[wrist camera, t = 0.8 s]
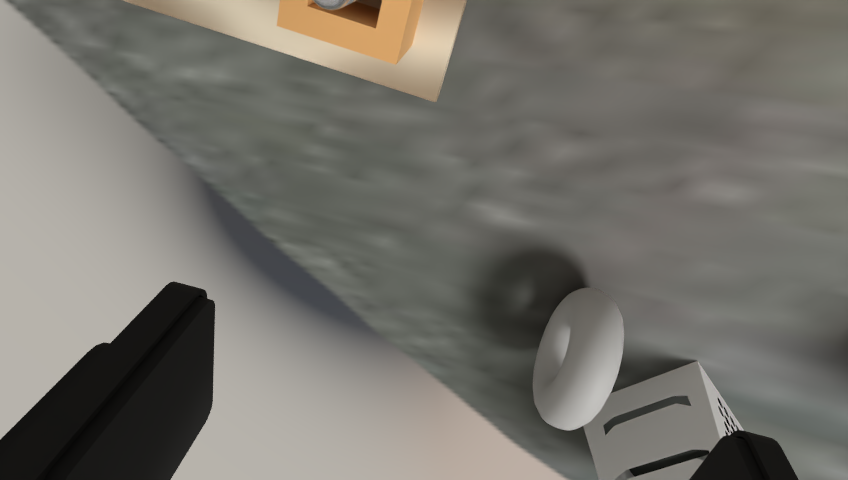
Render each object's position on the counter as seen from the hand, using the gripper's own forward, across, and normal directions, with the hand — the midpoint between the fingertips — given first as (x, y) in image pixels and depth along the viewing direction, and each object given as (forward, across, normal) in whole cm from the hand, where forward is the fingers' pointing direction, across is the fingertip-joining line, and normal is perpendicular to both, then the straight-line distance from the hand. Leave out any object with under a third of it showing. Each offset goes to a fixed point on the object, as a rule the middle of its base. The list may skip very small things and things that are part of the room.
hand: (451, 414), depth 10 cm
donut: (+28, -11, +16) cm, 34 cm away
